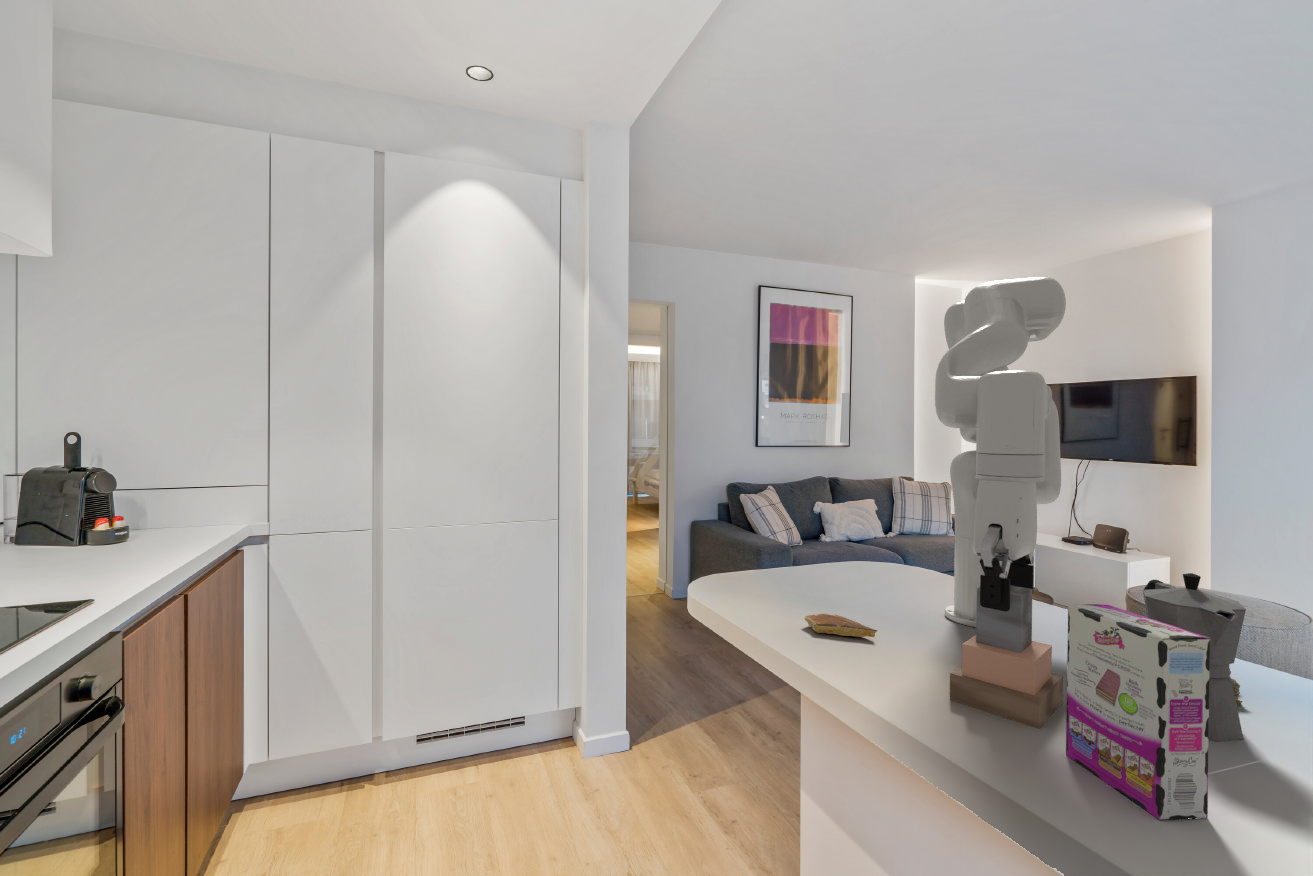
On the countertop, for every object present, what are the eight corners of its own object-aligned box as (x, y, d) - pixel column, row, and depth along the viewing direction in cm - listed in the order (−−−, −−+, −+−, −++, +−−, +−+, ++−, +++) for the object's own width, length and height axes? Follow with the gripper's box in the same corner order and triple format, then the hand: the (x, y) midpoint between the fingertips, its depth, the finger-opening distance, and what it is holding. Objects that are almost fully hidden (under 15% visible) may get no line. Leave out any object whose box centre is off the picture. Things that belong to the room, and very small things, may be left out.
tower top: (982, 658, 81) (983, 629, 81) (1051, 676, 75) (1051, 645, 75) (961, 675, 75) (962, 643, 75) (1034, 695, 69) (1035, 661, 69)
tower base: (978, 682, 83) (978, 654, 83) (1062, 707, 75) (1062, 676, 75) (949, 704, 76) (949, 673, 76) (1039, 733, 68) (1039, 699, 68)
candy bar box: (1212, 821, 52) (1215, 637, 52) (1160, 824, 52) (1163, 638, 52) (1106, 753, 63) (1108, 601, 63) (1062, 755, 63) (1064, 602, 63)
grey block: (988, 633, 79) (989, 581, 79) (1031, 643, 76) (1032, 589, 76) (976, 642, 76) (976, 588, 76) (1020, 653, 72) (1021, 596, 72)
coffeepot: (1282, 758, 63) (1284, 590, 63) (1179, 747, 65) (1181, 584, 65) (1187, 696, 78) (1189, 560, 78) (1105, 689, 80) (1107, 556, 80)
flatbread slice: (877, 639, 97) (877, 628, 97) (840, 645, 94) (840, 634, 94) (834, 621, 107) (834, 611, 107) (799, 626, 104) (799, 616, 104)
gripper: (998, 463, 84) (997, 582, 84) (952, 469, 72) (951, 608, 73) (1061, 466, 79) (1059, 593, 79) (1022, 473, 67) (1020, 623, 67)
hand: (1007, 600), depth 76 cm, fingers open, 9 cm apart
